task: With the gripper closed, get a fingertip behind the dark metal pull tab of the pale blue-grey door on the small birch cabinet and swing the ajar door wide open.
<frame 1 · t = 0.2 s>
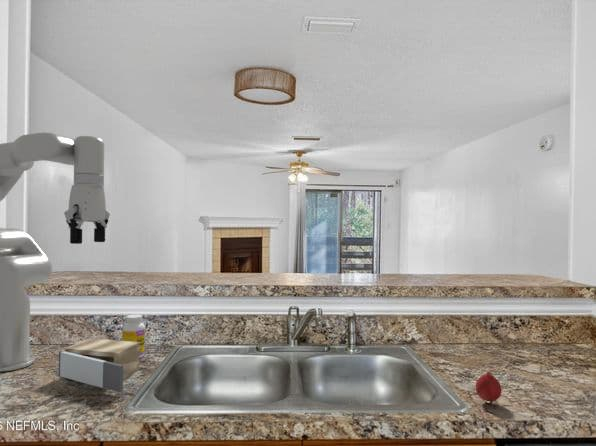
hand: (88, 242, 116), 36 cm above the countertop, tool pointing down, fingers open, 9 cm apart
onion: (487, 404, 102), on the countertop
supplement bottle: (133, 357, 130), on the countertop
door: (89, 370, 106), point 4 cm above the countertop, hinge at 15.0°
cabinet: (102, 373, 115), on the countertop
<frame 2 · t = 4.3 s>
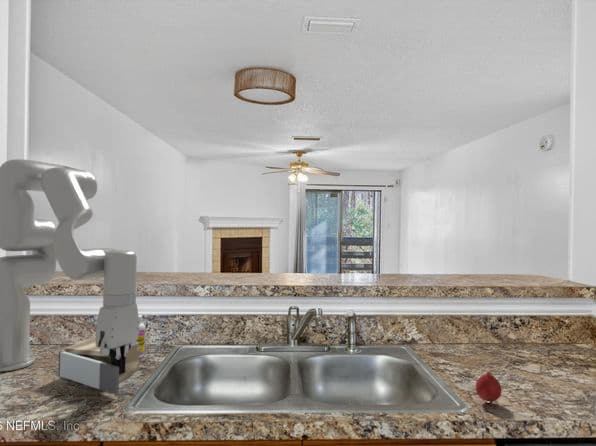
hand: (118, 372, 104), 5 cm above the countertop, tool pointing down, fingers closed
door: (87, 371, 106), point 4 cm above the countertop, hinge at 18.2°, touching gripper
everything else where it was.
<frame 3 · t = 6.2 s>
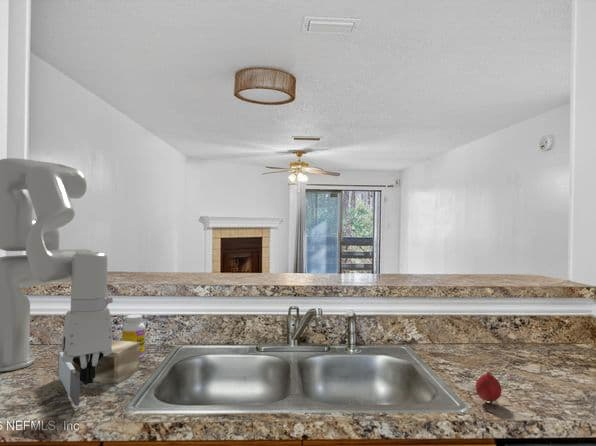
hand: (87, 382, 97), 5 cm above the countertop, tool pointing down, fingers closed
door: (68, 375, 102), point 4 cm above the countertop, hinge at 41.8°, touching gripper
everything else where it was.
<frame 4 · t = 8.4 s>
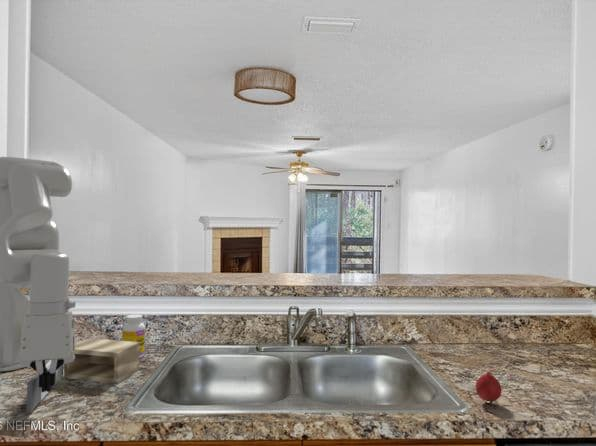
hand: (47, 389, 93), 5 cm above the countertop, tool pointing down, fingers closed
door: (47, 378, 101), point 4 cm above the countertop, hinge at 65.7°, touching gripper
everything else where it was.
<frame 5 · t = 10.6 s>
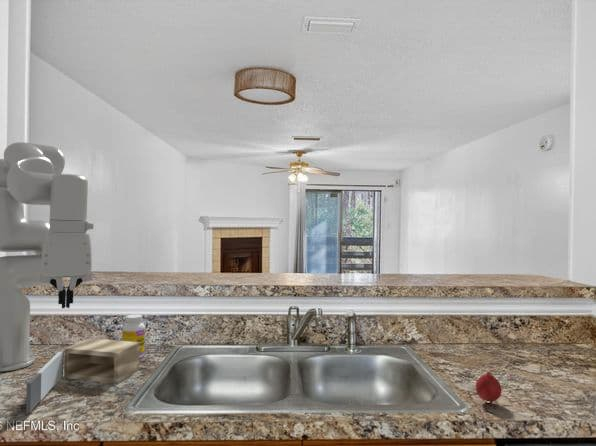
hand: (65, 306, 96), 23 cm above the countertop, tool pointing down, fingers closed
door: (46, 378, 101), point 4 cm above the countertop, hinge at 66.0°
everything else where it was.
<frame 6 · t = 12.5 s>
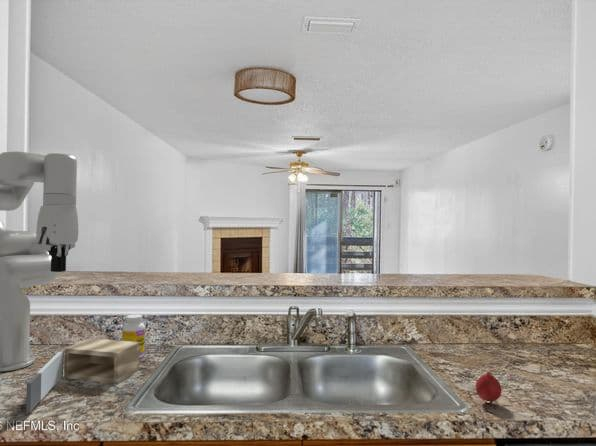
hand: (58, 271, 109), 29 cm above the countertop, tool pointing down, fingers closed
nothing on the countertop moved.
at the end: door at +66° (first picture: +15°); supplement bottle moved 0.2 cm from its start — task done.
